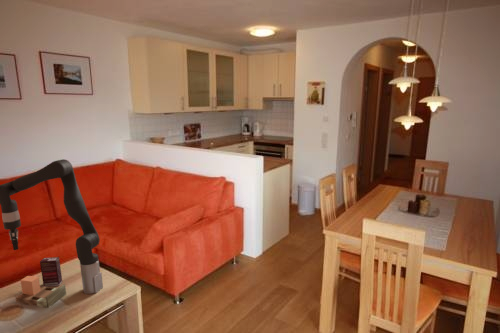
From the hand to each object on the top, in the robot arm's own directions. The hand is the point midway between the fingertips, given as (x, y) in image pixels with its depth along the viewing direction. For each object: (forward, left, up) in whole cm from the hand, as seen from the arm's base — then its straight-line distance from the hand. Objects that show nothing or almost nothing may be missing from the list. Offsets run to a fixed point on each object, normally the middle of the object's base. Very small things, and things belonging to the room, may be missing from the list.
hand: (16, 246), depth 178 cm
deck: (-19, +6, -25) cm, 32 cm away
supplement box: (-14, -7, -25) cm, 30 cm away
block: (-13, +6, -22) cm, 26 cm away
